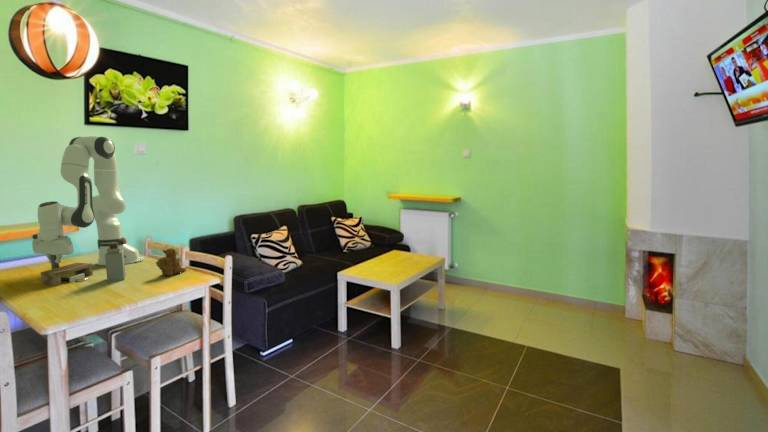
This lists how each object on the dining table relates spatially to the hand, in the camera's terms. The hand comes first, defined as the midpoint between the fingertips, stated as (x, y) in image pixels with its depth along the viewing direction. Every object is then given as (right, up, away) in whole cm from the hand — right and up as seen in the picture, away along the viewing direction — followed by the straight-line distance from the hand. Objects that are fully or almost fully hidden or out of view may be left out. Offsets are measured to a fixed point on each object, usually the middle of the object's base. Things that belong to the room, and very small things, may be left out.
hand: (55, 262), depth 192 cm
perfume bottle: (+30, -8, +1) cm, 31 cm away
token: (+15, -9, -2) cm, 17 cm away
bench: (+7, -8, 0) cm, 11 cm away
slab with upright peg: (+5, -8, 0) cm, 10 cm away
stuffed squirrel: (+52, -7, +10) cm, 53 cm away
